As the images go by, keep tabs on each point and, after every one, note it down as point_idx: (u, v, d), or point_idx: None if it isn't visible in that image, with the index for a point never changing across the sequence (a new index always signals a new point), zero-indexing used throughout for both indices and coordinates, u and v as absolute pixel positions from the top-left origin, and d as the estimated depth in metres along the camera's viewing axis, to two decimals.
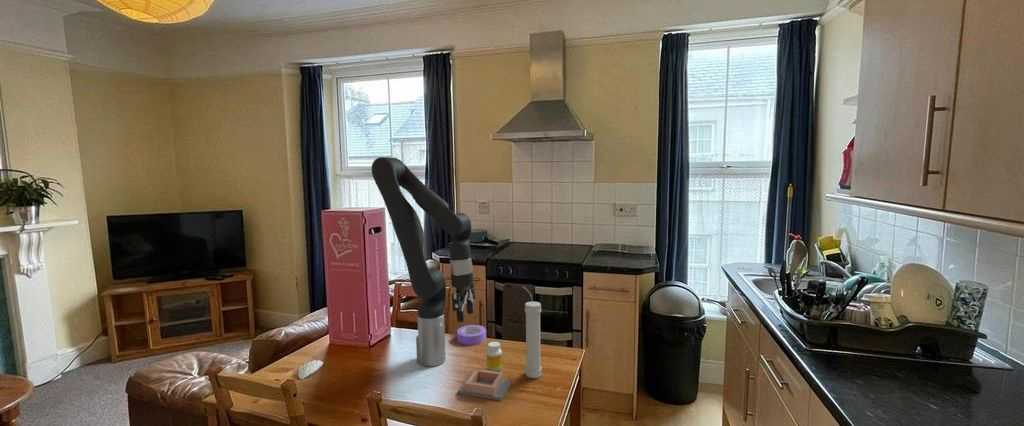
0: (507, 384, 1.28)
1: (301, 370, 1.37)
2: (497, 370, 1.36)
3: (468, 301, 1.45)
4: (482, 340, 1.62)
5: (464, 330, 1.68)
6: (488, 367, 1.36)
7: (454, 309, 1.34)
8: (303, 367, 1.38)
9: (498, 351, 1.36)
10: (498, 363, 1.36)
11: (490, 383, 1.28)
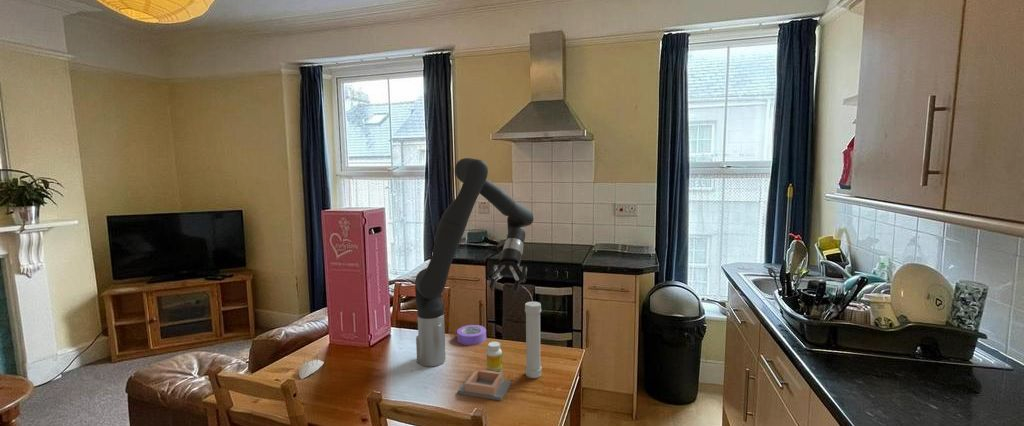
0: (507, 384, 1.28)
1: (302, 370, 1.37)
2: (497, 370, 1.36)
3: (494, 278, 1.49)
4: (482, 340, 1.62)
5: (464, 330, 1.68)
6: (488, 367, 1.36)
7: (524, 278, 1.46)
8: (304, 367, 1.38)
9: (498, 351, 1.36)
10: (498, 363, 1.36)
11: (490, 383, 1.28)
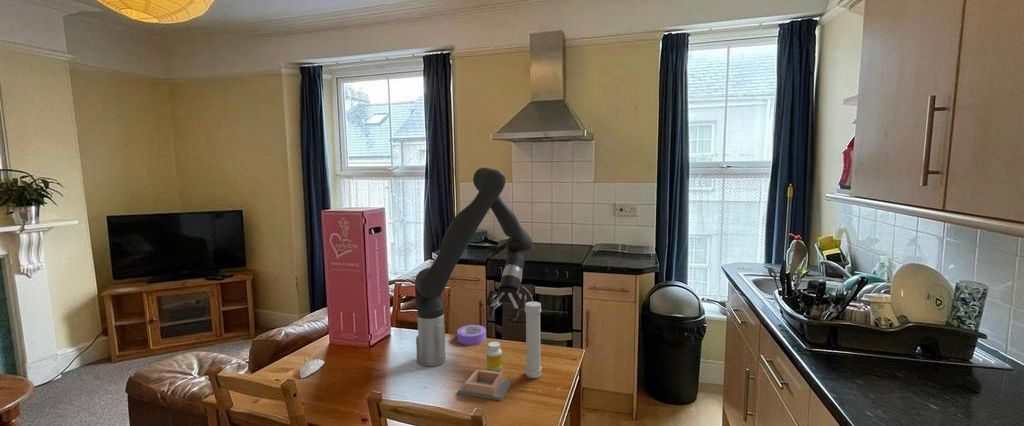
0: (507, 384, 1.28)
1: (302, 369, 1.37)
2: (497, 370, 1.36)
3: (494, 306, 1.49)
4: (482, 340, 1.62)
5: (464, 330, 1.68)
6: (488, 367, 1.36)
7: (523, 306, 1.46)
8: (304, 366, 1.39)
9: (498, 351, 1.36)
10: (498, 363, 1.36)
11: (490, 383, 1.28)
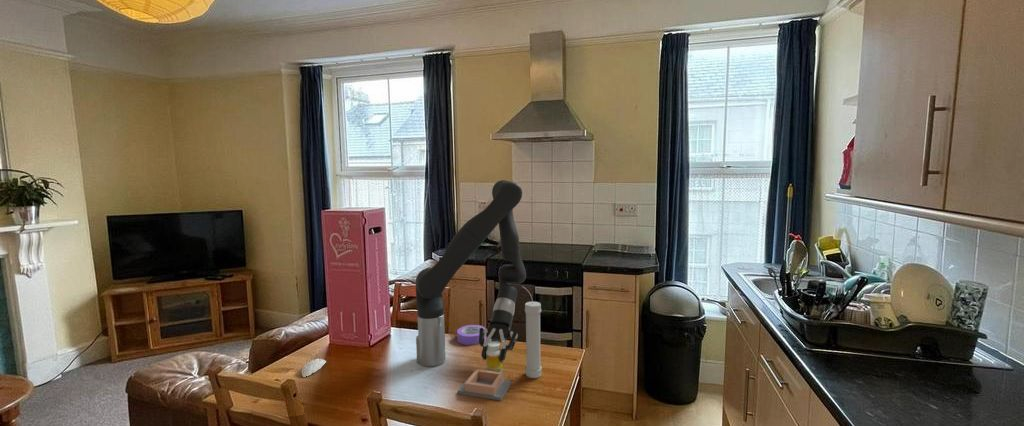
0: (507, 384, 1.28)
1: (304, 368, 1.38)
2: (497, 370, 1.36)
3: (487, 345, 1.40)
4: None
5: (464, 330, 1.68)
6: (488, 367, 1.36)
7: (511, 346, 1.37)
8: (306, 365, 1.39)
9: (498, 351, 1.36)
10: (498, 363, 1.36)
11: (490, 383, 1.28)
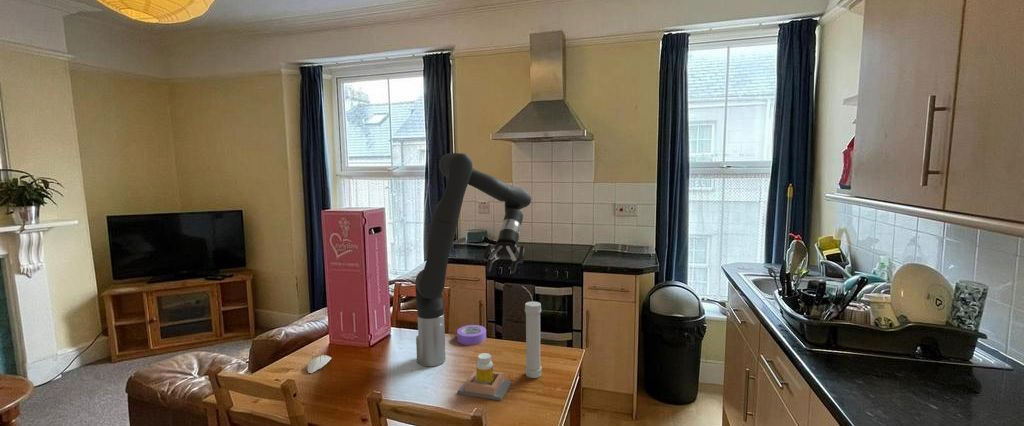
0: (507, 384, 1.28)
1: (310, 365, 1.40)
2: None
3: (491, 259, 1.46)
4: (482, 340, 1.62)
5: (464, 330, 1.68)
6: (478, 381, 1.25)
7: (521, 259, 1.43)
8: (312, 362, 1.42)
9: (489, 364, 1.25)
10: (489, 376, 1.25)
11: None
